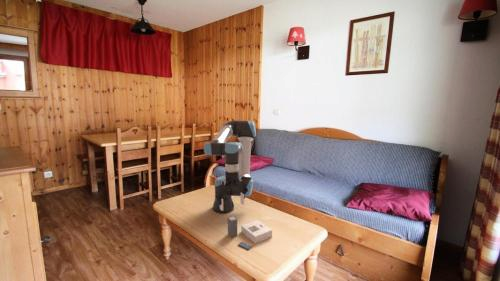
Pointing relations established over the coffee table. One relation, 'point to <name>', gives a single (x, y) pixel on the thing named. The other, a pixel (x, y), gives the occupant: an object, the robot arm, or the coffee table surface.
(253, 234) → the outlet plate
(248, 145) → the robot arm
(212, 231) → the coffee table surface
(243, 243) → the phone
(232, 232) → the block
